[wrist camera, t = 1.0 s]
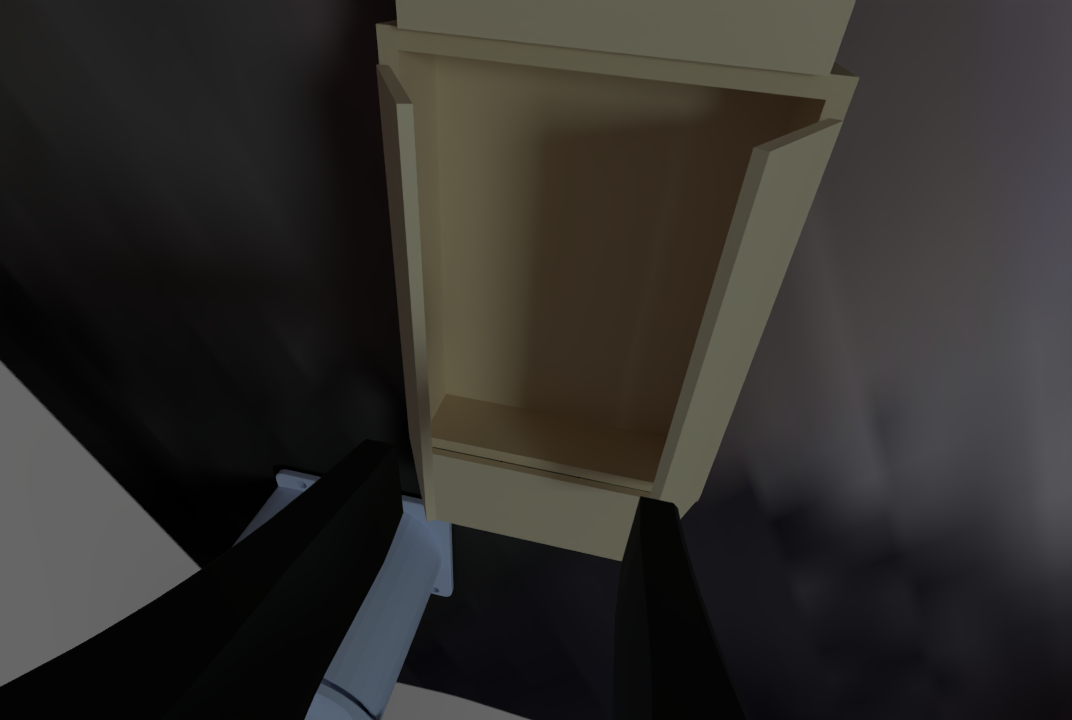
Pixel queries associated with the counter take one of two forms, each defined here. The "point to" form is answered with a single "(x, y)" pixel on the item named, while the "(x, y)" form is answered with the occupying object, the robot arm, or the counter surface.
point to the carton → (584, 228)
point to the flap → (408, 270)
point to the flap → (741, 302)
